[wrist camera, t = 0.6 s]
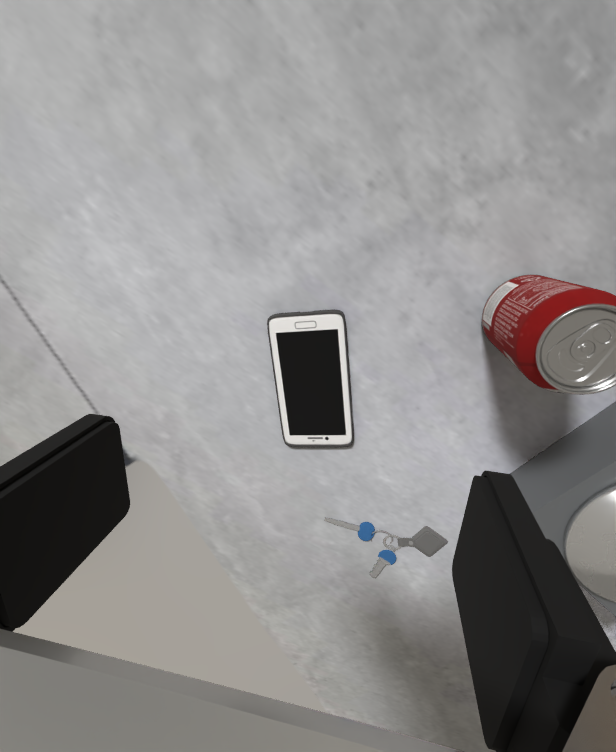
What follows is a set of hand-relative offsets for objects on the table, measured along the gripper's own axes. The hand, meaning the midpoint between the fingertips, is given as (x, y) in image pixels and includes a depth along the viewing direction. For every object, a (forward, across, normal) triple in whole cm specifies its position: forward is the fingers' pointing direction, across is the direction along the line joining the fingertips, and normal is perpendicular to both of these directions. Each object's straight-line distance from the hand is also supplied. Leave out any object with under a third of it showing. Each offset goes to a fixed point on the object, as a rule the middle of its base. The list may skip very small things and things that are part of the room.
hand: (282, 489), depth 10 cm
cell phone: (+29, +4, +8) cm, 30 cm away
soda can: (+28, -14, 0) cm, 32 cm away
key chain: (+29, -6, +28) cm, 41 cm away
